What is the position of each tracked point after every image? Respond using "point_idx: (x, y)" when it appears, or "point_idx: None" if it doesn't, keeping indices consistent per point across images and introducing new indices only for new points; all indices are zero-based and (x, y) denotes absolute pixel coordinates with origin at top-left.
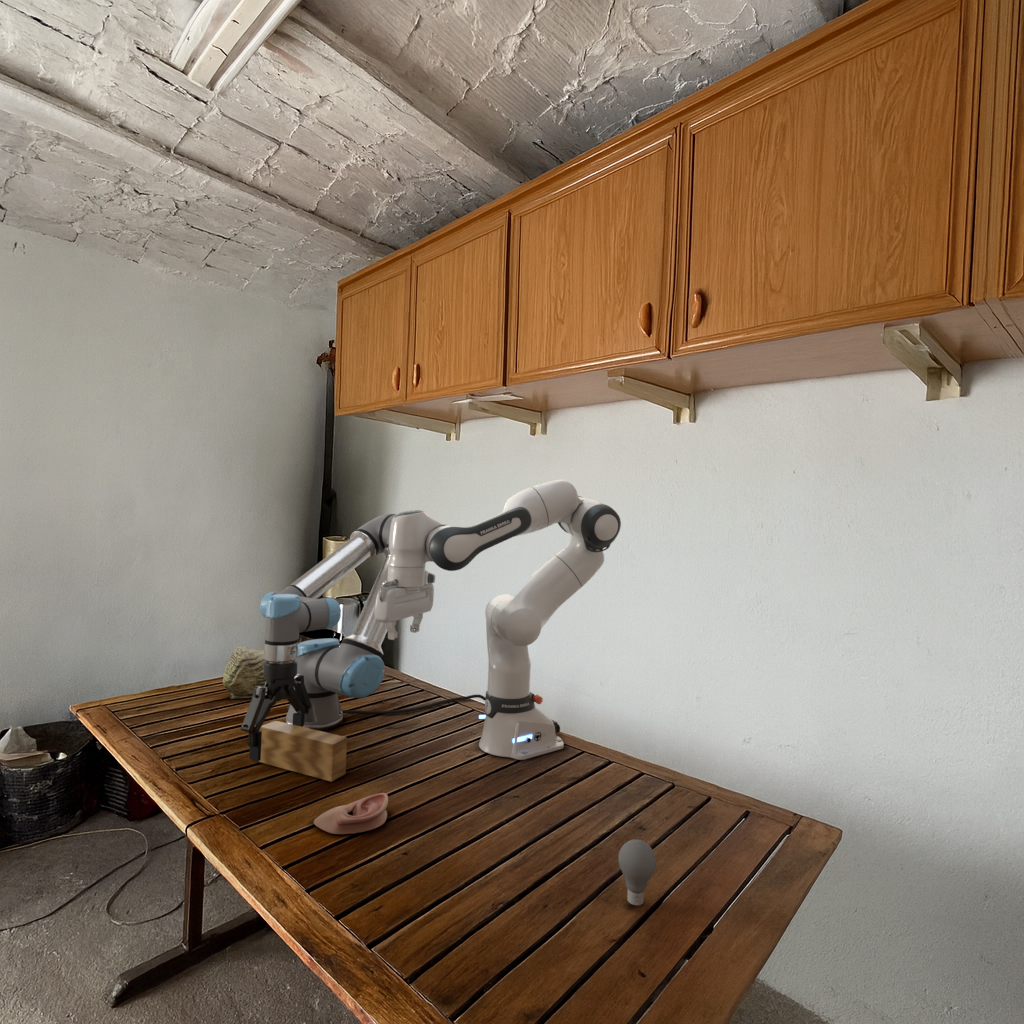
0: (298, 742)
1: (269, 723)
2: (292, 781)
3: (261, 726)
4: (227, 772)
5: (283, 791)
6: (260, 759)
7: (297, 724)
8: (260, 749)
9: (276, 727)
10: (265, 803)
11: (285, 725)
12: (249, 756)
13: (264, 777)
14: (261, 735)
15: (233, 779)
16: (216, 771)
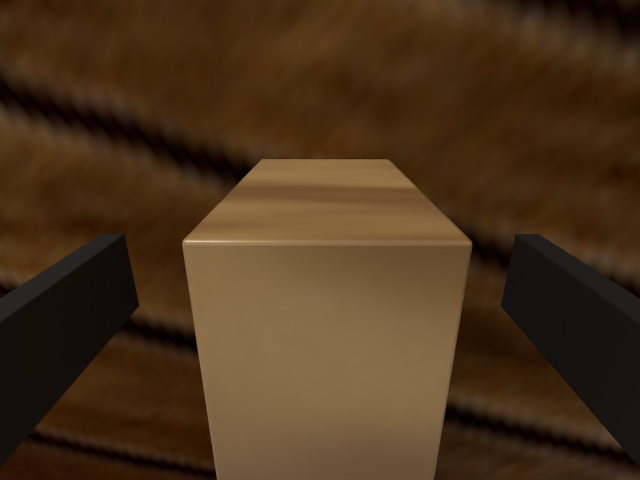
0: None
1: (336, 264)
2: (202, 429)
3: (192, 260)
4: (54, 111)
5: (122, 452)
6: (136, 307)
7: (588, 354)
8: (96, 349)
9: (276, 412)
10: (20, 460)
11: (373, 444)
12: (92, 242)
13: (152, 319)
14: (13, 448)
15: (33, 213)
16: (11, 33)
